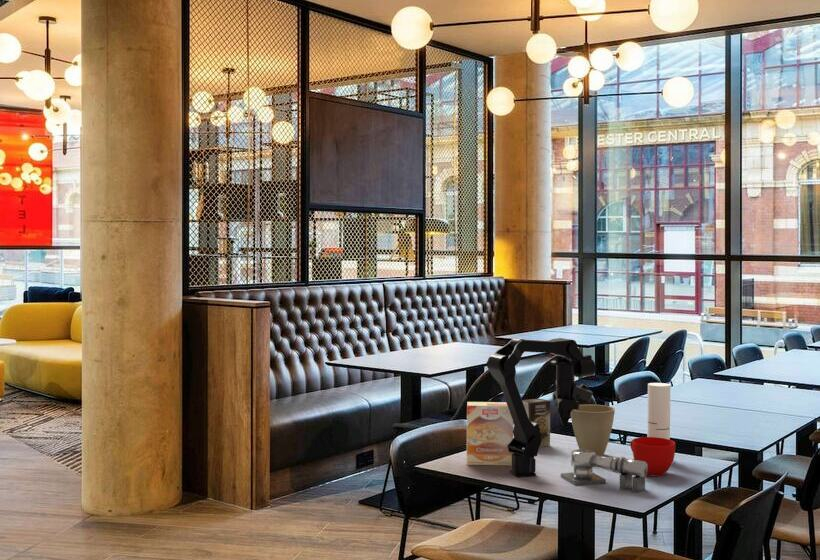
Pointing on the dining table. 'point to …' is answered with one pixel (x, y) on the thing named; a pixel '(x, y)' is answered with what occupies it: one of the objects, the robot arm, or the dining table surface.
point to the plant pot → (593, 427)
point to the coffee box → (540, 417)
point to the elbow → (592, 460)
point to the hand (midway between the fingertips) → (565, 426)
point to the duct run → (632, 468)
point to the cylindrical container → (658, 410)
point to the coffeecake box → (489, 433)
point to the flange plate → (582, 481)
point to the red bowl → (654, 453)
